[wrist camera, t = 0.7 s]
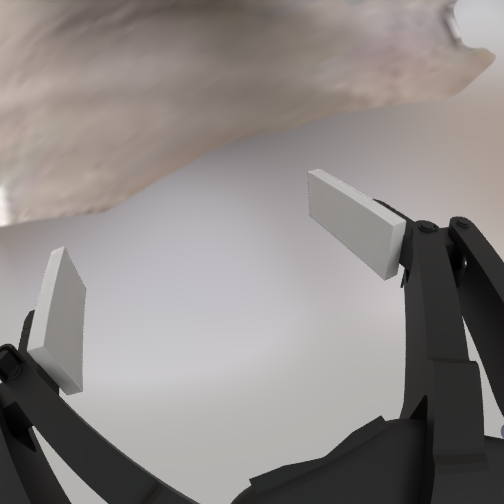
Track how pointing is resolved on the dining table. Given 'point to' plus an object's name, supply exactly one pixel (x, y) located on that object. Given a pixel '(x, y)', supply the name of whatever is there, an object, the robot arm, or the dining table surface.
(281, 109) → the dining table surface
